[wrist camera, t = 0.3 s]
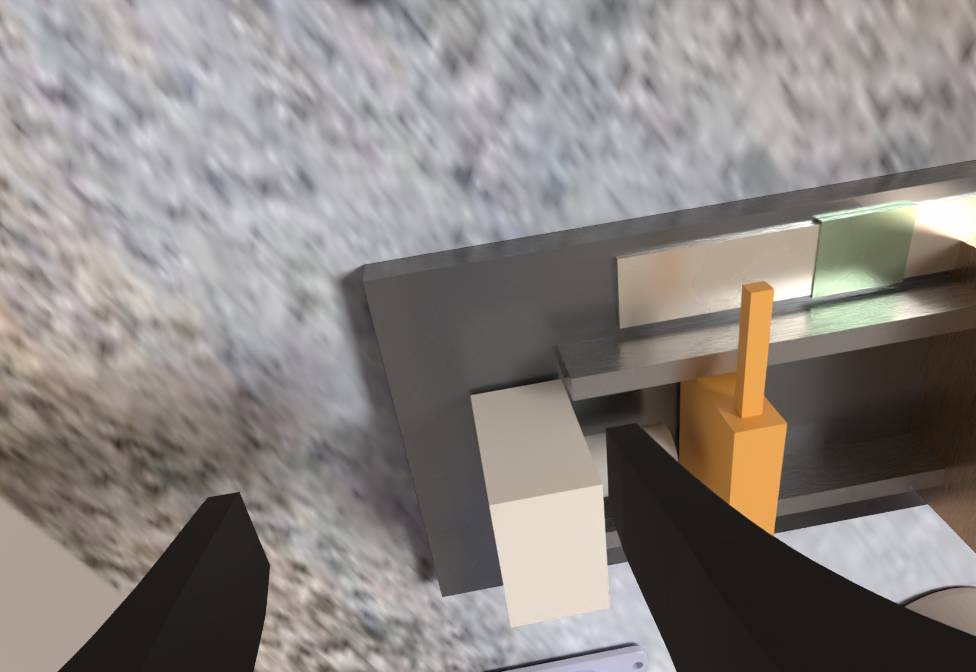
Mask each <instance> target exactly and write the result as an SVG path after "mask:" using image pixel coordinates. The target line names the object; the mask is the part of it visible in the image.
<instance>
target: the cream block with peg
mask: <svg viewBox="0 0 976 672" xmlns="http://www.w3.org/2000/svg"><path fill="white" fill-rule="evenodd" d="M470 396H471V402H472V408H473V414H474V420H475V425H476V431H477V437H478V443H479V449H480V455H481V460H482V466H483V472H484V478H485V484H486V490H487V496H488V501H489V507H490V513H491V518H492V524H493V529H494V535H495V541H496V546H497V552H498V557H499V563H500V568H501V574H502V579H503V585H504V591H505V596H506V602H507V607H508V613H509V618H510V624H511V627H516V626H521V625H526V624H531V623H537V622H542V621H547V620H552V619H557V618H562V617H568V616H573V615H578V614H583V613H588V612H593V611H599V610H604V609H609V608H610V601H609V585H608V568H607V551H606V534H605V517H604V501H603V497H608V474H607V451H606V433H600V434H595V435H590V436H583V433H582V431H581V428H580V426H579V423H578V420H577V418H576V415H575V413H574V410H573V408H572V405H571V403H570V400H569V398H568V395H567V392H566V390H565V387H564V385H563V382H562V380H561V379H559V380H553V381H547V382H542V383H536V384H531V385H525V386H520V387H514V388H509V389H503V390H497V391H492V392H486V393H481V394H475V395H470ZM641 427H642V428H643V429H644V430H645V431H646V432H647V433H648V434H649V435H650V436H651V437H652V438H653V439H654V440H655V441H656V442H657V443H659V444H660V445H661V446H662V447H663V448H664V449H665V450H666V451H667V452H668V453H669V454H670V455H671V456H672V457H674V458H675V459H676V460H677V461H678V456H677V451H676V447H675V444H674V441H673V438H672V436H671V433H670V431H669V429H668V428H667V426H666V425H665V424H664V423H663V422H660V423H655V424H649V425H644V426H641Z"/></svg>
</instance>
